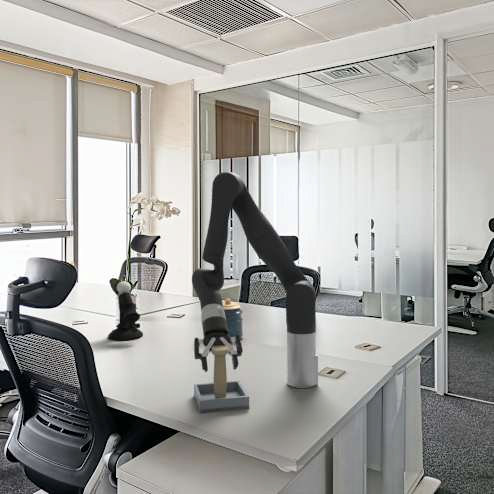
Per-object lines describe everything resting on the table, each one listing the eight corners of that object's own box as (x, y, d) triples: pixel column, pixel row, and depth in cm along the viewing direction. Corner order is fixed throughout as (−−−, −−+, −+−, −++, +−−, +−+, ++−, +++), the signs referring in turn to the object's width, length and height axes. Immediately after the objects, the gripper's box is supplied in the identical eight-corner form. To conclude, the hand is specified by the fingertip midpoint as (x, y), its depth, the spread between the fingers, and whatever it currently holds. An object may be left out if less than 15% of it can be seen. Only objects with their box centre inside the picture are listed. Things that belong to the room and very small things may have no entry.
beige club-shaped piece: (227, 394, 153) (226, 344, 152) (229, 401, 147) (229, 350, 146) (211, 395, 152) (210, 345, 152) (213, 402, 146) (212, 350, 145)
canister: (209, 341, 220) (208, 300, 218) (219, 334, 232) (218, 295, 231) (237, 343, 216) (237, 301, 215) (246, 335, 228) (246, 296, 227)
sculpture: (137, 331, 239) (136, 278, 238) (153, 342, 219) (151, 284, 217) (104, 335, 232) (102, 280, 230) (117, 347, 211) (116, 287, 210)
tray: (239, 391, 158) (239, 380, 158) (249, 408, 144) (249, 396, 144) (194, 395, 155) (193, 384, 155) (200, 413, 141) (199, 401, 141)
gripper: (192, 316, 153) (197, 365, 143) (238, 313, 157) (246, 361, 146) (190, 329, 159) (195, 377, 149) (235, 327, 162) (243, 373, 152)
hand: (221, 369), depth 147 cm, fingers open, 8 cm apart
